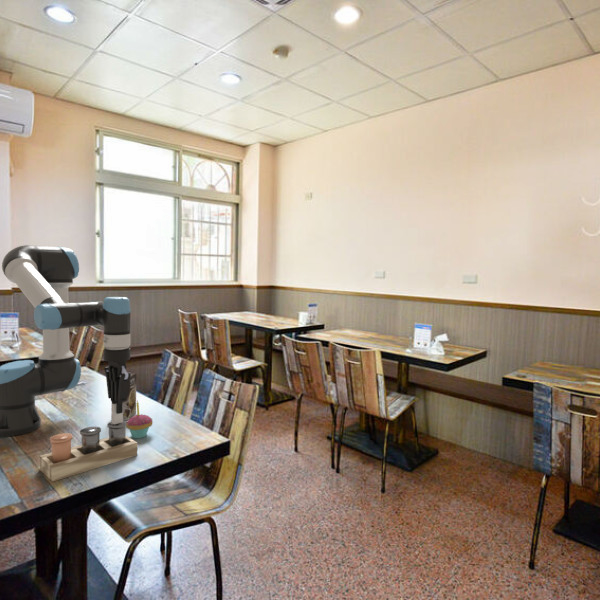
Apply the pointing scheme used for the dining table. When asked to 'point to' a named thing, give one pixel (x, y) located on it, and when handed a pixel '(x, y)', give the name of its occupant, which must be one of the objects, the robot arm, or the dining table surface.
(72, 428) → the dining table surface
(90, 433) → the plug
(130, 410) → the coffee box
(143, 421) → the cupcake
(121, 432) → the plug
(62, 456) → the plug terracotta
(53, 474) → the wooden holder
